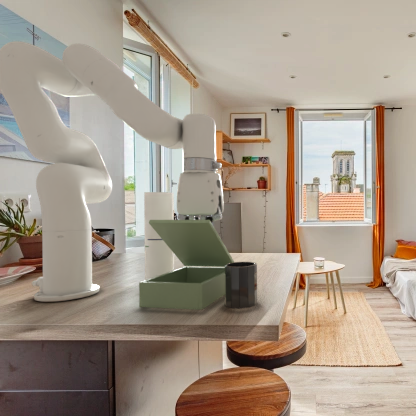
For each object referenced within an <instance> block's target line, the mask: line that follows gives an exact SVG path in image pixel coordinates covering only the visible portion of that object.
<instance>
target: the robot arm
mask: <svg viewBox="0 0 416 416" xmlns="http://www.w3.org/2000/svg"><path fill="white" fill-rule="evenodd" d="M44 89H45V90H46V91H49V92H51V93H53V94H56V95H58V96H63V97H67V98H68V97H69V98H70V97H71V98H73V97H77V98H78V97H89V96H90V97H91V96H96V97H97V98H99V99H100V100H101V101H102V102H103V103H105V105H107V106H108V107H109V109H110V110H111V111H112V112H113V114H114V115H115V116H116V117H117V118H118V119H119V120H120V121H122V122H123V124H125V125H126V126H128V127H129V128H130V129H131V130H132V131H134V132H135V133H136V134H138V135H139V136H140V137H142V138H143V139H145V140H146V141H148V142H151V143H154V144H157V145H159V146H161V147H164V148H167V149H170V150H180V149H181V150H182V172H180V173H179V179H178V182H177V190H176V212H177V213H178V214H177V220H210V221H211V223H212V224H213V223H214V222H216V221H219V220H222V219H223V214H222V213H224V210H225V202H224V192H223V185H222V184H223V183H222V178H221V175H220V173H218V169H221V168H222V163H221V162H218V160H217V127H216V120H215V119H214V118H213V117H212V116H211V115H209V114H205V113H189V114H186V115H184V117H183V118H182V119H181V118H178V117H176V116H174V115H173V114H171V113H169V112H167V111H165V109H163V108H162V107H160V106H159V105H157V104H156V103H155V102H154V101H152V100H151V99H150V98H148V96H146V95H145V94H144V93H142V92H141V90H139V86H138V83H137V82H136V81H135V80H134V79H133V78H132V77H130V76H129V75H128V74H127V73H125V72H124V71H123V70H122V69H121V67H120V66H119V65H118V64H117V63H116V62H114V61H113V60H112V59H110V58H109V57H107V56H106V55H105V54H104V53H102V52H101V51H99V50H97V49H96V48H94V47H92V46H90V45H87V44H85V43H72V44H69V45H68V46H66V47H65V49H64V50H63V52H62V59H61V58H59V57H57V56H56V55H54V54H52V53H51V52H49V51H47V50H46V49H43V48H41V47H39V46H37V45H35V44H31V43H29V42H26V41H19V40H18V41H17V40H16V41H9V42H6V43H5V44H3V45H2V46H1V47H0V93H1V94H2V96H3V98H4V100H5V101H6V103H7V105H8V107H9V108H10V109H9V110H10V111H11V114H12V116H13V118H14V120H15V123H16V125H17V127H18V129H19V132H20V134H21V136H22V139H23V140H24V144H25V145H26V148H27V149H28V151H29V153H30V154H31V156H33V158H35V159H37V160H39V161H42V162H45V163H51V164H48V165H46V166H44V167H43V168H42V169H41V170H40V171H39V172H38V173H37V175H36V178H35V188H36V194H37V196H38V201H39V205H40V211H41V231H42V232H41V233H42V235H41V236H42V239H41V240H42V243H41V244H42V276H38V278H37V279H36V280H33V281H32V282H31V286H32V287H39V291H37V292H35V293H34V294H33V299H34V301H37V302H41V303H42V302H43V303H44V302H45V303H50V302H51V303H52V302H64V301H70V300H71V301H72V300H76V299H81V298H86V297H89V296H93V295H95V294H97V293H99V292H100V289H101V287H100V285H98V284H94V283H93V244H92V243H93V241H92V239H93V237H92V236H93V234H92V233H93V232H92V231H93V230H92V216H91V213H90V211H89V208H88V205H87V204H89V205H90V204H92V205H93V204H100V203H102V202H105V201H106V200H107V199H108V198H109V197H110V196H111V194H112V192H113V182H112V178H111V176H110V173H109V171H108V169H107V166H106V163H105V162H104V159H103V156H102V155H101V152H100V150H99V148H98V146H97V144H96V143H95V141H94V140H93V139H92V138H91V137H90V136H88V135H87V134H86V133H83V132H82V131H78V130H76V129H73V128H71V127H68V126H67V125H65V123H64V122H63V120H62V118H61V116H60V114H59V111H58V109H57V106H56V105H55V103H54V102H53V100H52V99H51V98H50V96H49V95H48V94H47V93H46V91H44Z"/></svg>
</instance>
